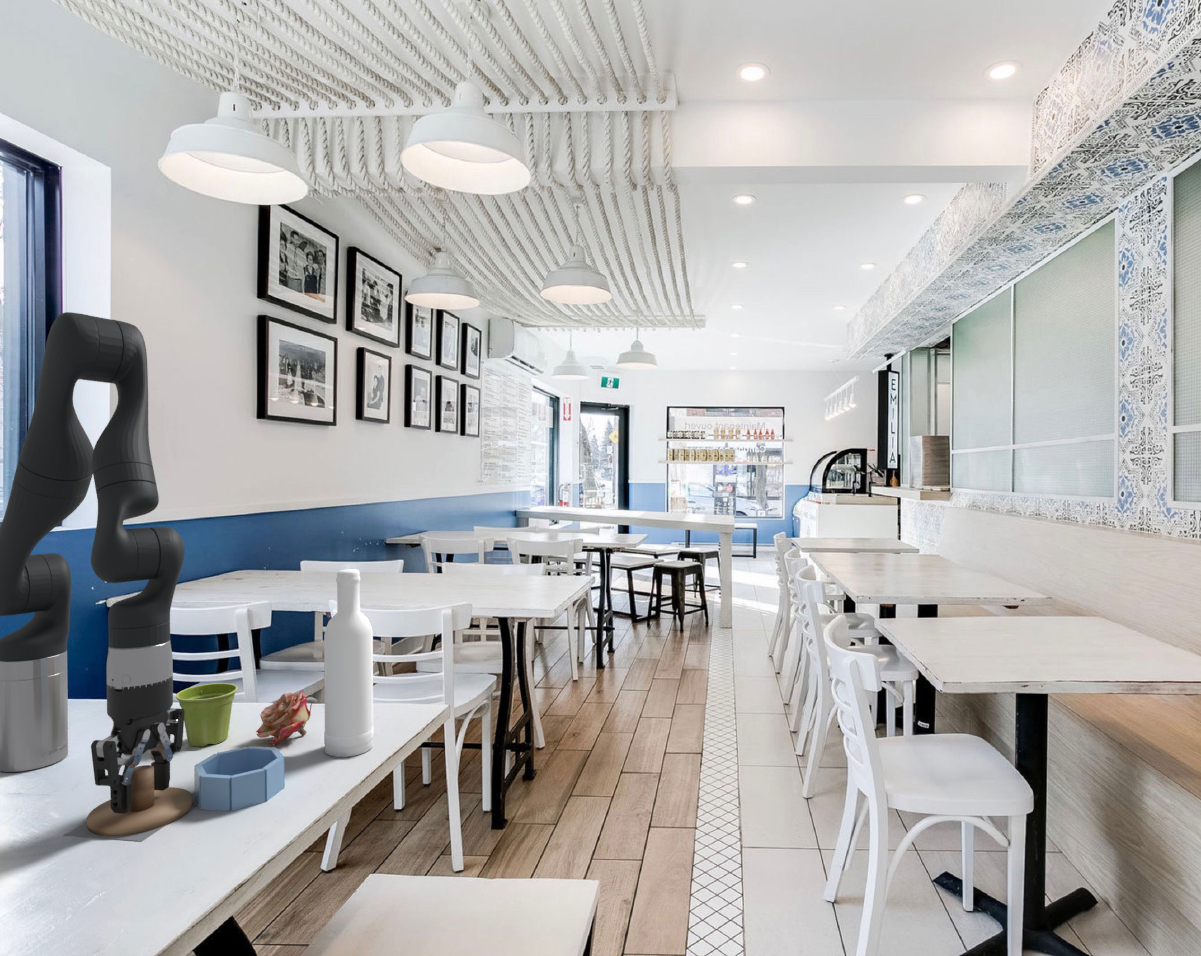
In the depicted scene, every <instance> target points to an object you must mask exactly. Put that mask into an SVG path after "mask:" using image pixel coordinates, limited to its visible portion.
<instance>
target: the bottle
mask: <svg viewBox="0 0 1201 956" xmlns="http://www.w3.org/2000/svg"><path fill="white" fill-rule="evenodd" d="M360 575H361V574H360V570H359V569H353V568H349V569H340V570H338V571H337V573H336V578H335V579H336V585H337V586H336V589H337V590H336V593H337V595H336V596H337V597H336V599H337V601H336V605H337V607H336V609H337V611H336V613H335V614H334V615H333V617H331V618H330V619H329V620H328V623H327V625H326V628H325V630H324V635H323V641H324V643H323V644H324V646H323V647H324V648H323V649H324V650H323V652H324V653H323V654H324V656H323V657H324V668H323V669H324V675H323V676H324V734H323V735H324V736H323V737H324V738H323V741H324V742H323V743H324V752H325V753H326V755H328V756H330V757H334V758H337V757H338V758H347V757H348V758H349V757H355V756H359V755H362V754H365V753H367V752H369V751H371V749H372V748H373V747H374V738H375V728H374V727H375V726H374V632H373V627H372V624H371V623H370V620H369V618H368V617H367V616H366V615H365V614H364V613H363V612H362V611H361V610H360V609H361V602H360V601H361V594H360V593H361V590H360V589H361V587H360V586H361V585H360V584H361V576H360Z"/></svg>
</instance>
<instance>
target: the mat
mask: <svg viewBox="0 0 1201 956" xmlns="http://www.w3.org/2000/svg"><path fill="white" fill-rule="evenodd" d="M191 794H192V807H191V809H190V810H192V809H193V808H195V807H197V805H198V803H197V801H196V799H195V793H191ZM166 826H167V825H165V826H162V827H159V828H156V829H153V830H150V831H146V832H142V833H137V834H132V835H125V836H100V835H96V834H93V833H91V832H90V831H89V830H88V829H87V821H85V822H84V823H82V824H80V825H79V826H77V827H75V828H73V829H72V830H70V831H68V832H67V833H65V834H63V837H64V836H65V837H75V838H76V837H77V838H89V839H90V838H91V839H102V840H115V841H128V842H139V843H141V842H143V841H145V840H147V838H150V837H151V836H152V835H154V834H155V833H157V832H158V831H160V830H161V829H163V828H164V827H166Z"/></svg>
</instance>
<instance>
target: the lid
mask: <svg viewBox="0 0 1201 956" xmlns="http://www.w3.org/2000/svg"><path fill="white" fill-rule="evenodd" d="M129 783H131V800H132V808H131V810H130V811H129V812H127V813H125V814H122V813H114V812H113V810H112V809H111V799H108V800H107V801H104V802H102V803H101V804H99V805H97V806H95V808H93V809H92V810H91V811H90V812H89V814H88V815H87V817H86V822H87V829H88V830H89V831H90V832H91V833H93V834H96V835H100V836H125V835H132V834H137V833H142V832H146V831H150V830H153V829H156V828H159V827H162V826H164V827H166V826H168V825H169V824H171V823H174V822H175V821H177V820H179V819H181V818H182V817H184V816H185V815H187V814H188V813H189V811H191V810H192V809H191V807H192V794H193V793H192V792H190V791H189V790H187V789H185V788H181V787H175V786H173V787H172V786H171V787H170V786H169V787H168V788H167V789H165V790H163V791H161V790H154V766H151V764H147V765H146V764H145V765H139V766H138V765H137V766H136V767H135V768H134V770H133V773H132V777H131V780H130V782H129ZM165 825H166V826H165Z"/></svg>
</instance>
